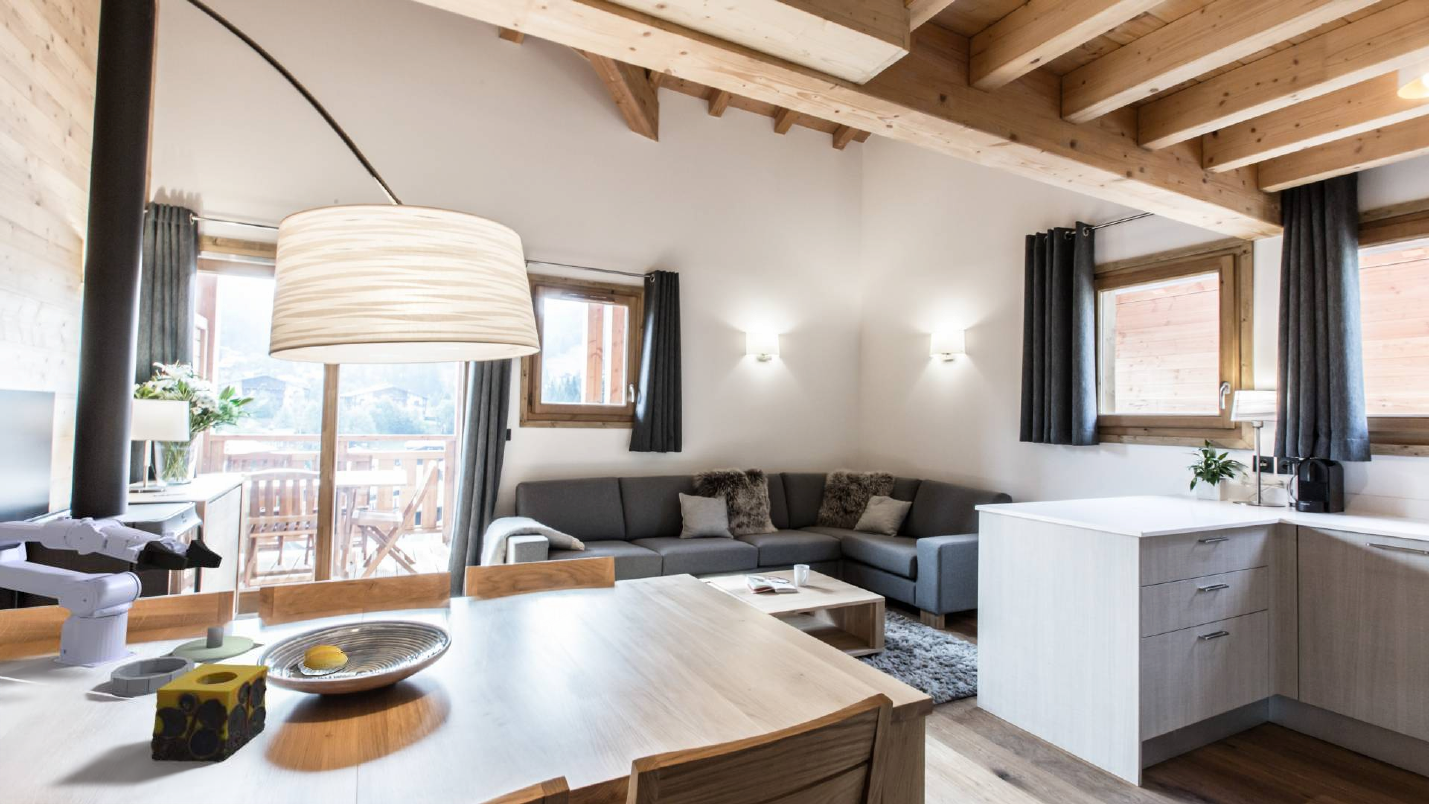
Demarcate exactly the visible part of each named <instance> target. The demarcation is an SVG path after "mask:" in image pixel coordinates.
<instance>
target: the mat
mask: <svg viewBox="0 0 1429 804" xmlns="http://www.w3.org/2000/svg"><path fill="white" fill-rule="evenodd" d="M263 646H266V644H265V643H262V644H261V643H257V642H254V646H253V648H252V649H251V650H250V651H252V650H254V649H257V648H260V647H261V648H262V647H263ZM172 655H173V651H172V652H169V653H166V654H164V655H160V656H159V657H172ZM159 657H158V658H159ZM227 659H228V658H225V659H220V660H213V661H203V662H196V663H199V664H217V663H219V662H222V661H224V660H227Z"/></svg>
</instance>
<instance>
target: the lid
mask: <svg viewBox="0 0 1429 804" xmlns="http://www.w3.org/2000/svg"><path fill="white" fill-rule="evenodd" d="M224 629H225V627H224V626H222V625H221V626H220V625H217V626H216V625H214V626H210V627H208V628H207V633H206V638H201V639H200V638H199V639H196V640H193V641H188V642H186V643H182V644H180V645H178V646H176V647H175V648H173V650H172V652H173V655H172V657H174V656H177V657H178V656H179V657H186V658H191V659H192V660H193V661H194V662H195V663H197V662H203V661H213V660H220V659H225V658H227V659H230V658H234V657H238V656H241V655H243V654H245V653H248V652H249V651H252V650H253V649H252V648H253V646H254V643H255V641H254V640H253V639H252V638H250V637H246V636H240V635H239V636H238V635H237V636H236V635H235V636H234V635H226V636H225V635H224V631H225V630H224ZM251 649H252V650H251ZM225 660H226V659H225Z"/></svg>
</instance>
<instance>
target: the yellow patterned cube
mask: <svg viewBox="0 0 1429 804" xmlns="http://www.w3.org/2000/svg"><path fill="white" fill-rule="evenodd" d="M268 672H269V666H268V665H266V664H265V665H262V664H261V665H259V664H258V665H257V664H256V665H254V664H253V665H251V664H250V665H249V664H226V663H225V664H224V663H214V664H204V663H200V665H199V666H197V667H194V669H193V670H191V671H189V672H188V673H186V674H184V675H183V676H181V677H179V678H177V679H175V680H173V681H172V682H170V683H168V684H166V685H164V686H163V687H161V688H160V689H158V690H157V693H156V705H155V707H156V709H155V710H156V711H155V716H154V725H153V731H152V735H151V736H152V739H151V742H150V747H151V751H152V752H151V760H153V761H173V762H175V761H176V762H206V761H208V762H224V761H225V760H227V759H229V758H230V757H231V756H233V755H234V754H236V753H237V752H238V751H239V750H240V749H242V748H243V747H244V746H245V745H247V744H248V743H249V742H251V741H252V740H253V739H254V738H255V737H257V736H258V735H259V734H260V733H262V732H263V731H264V730H265V729H266V728H265V727H266V722H265V721H266V717H267V709H266V692H267V689H268V688H267V676H268Z"/></svg>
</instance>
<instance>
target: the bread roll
mask: <svg viewBox="0 0 1429 804" xmlns="http://www.w3.org/2000/svg"><path fill="white" fill-rule="evenodd" d="M341 650H342V649H340V648H338V647H337V646H334V645H330V644H329V645H328V644H321V645H316V646H313V647H311V648H310V649H307V650H306V651H304V653H305V654H304V653H303V654H304V655H305V658H306V660H305V661H304V662H303V664H304V666H305V667H308V668H310V669H312V670H330V669H335V668H338V667H341V666H343V665H344V664H345V663H346V662H347V660H348V661H349V658H347V657H348V656H347V654H345V653H344V652H343V650H342V651H341ZM341 652H343V653H344V654H343V653H341Z"/></svg>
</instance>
